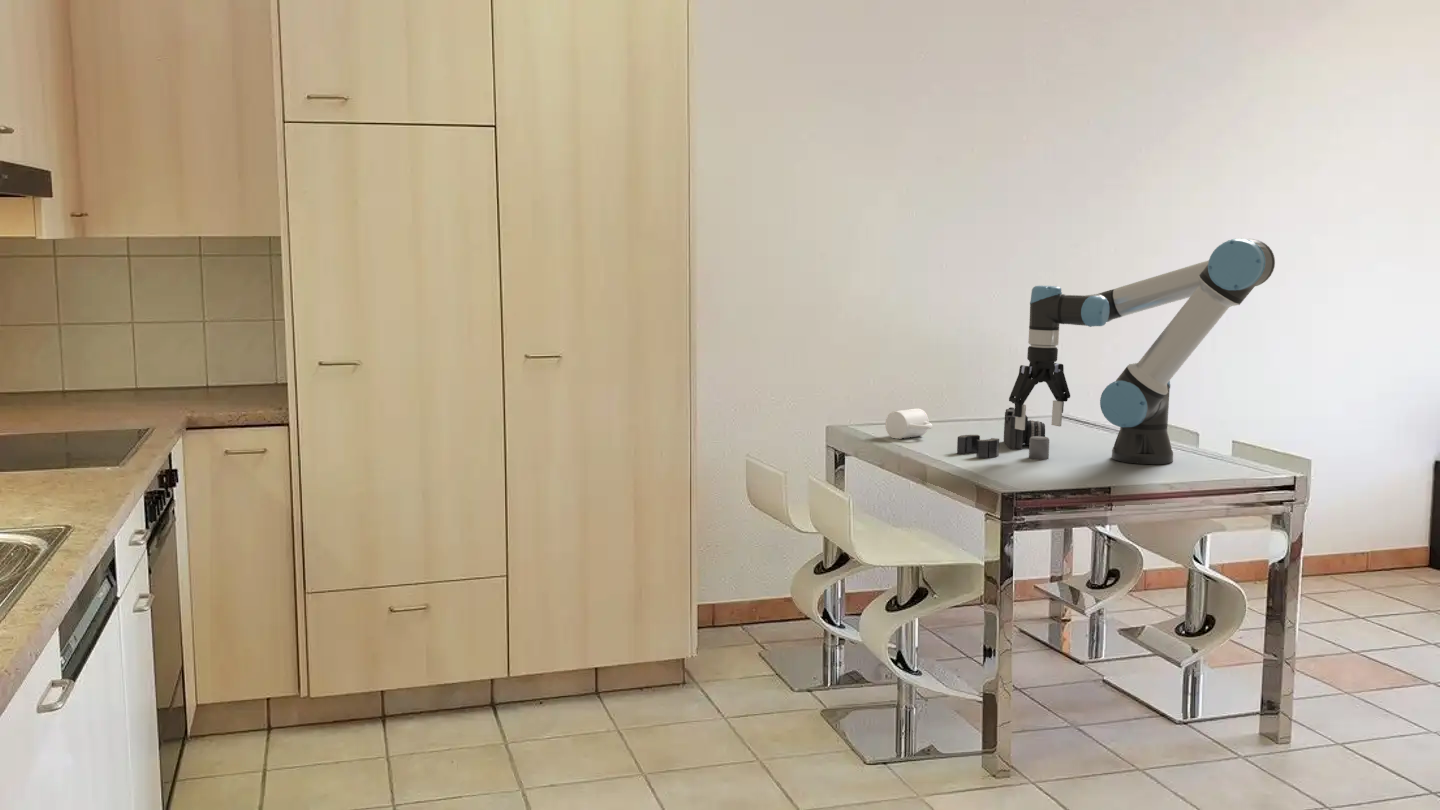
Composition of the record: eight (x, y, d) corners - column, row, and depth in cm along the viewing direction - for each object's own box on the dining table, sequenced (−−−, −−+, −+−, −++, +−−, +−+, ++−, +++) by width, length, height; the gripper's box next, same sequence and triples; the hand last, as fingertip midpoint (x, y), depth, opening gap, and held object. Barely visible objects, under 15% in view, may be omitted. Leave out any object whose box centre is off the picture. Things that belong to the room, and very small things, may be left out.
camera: (1048, 450, 357) (1050, 414, 356) (1008, 450, 358) (1009, 413, 356) (1039, 442, 371) (1040, 406, 370) (999, 441, 372) (1001, 406, 371)
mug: (884, 437, 377) (885, 409, 376) (907, 434, 384) (908, 406, 383) (917, 442, 368) (918, 414, 367) (940, 439, 375) (941, 411, 374)
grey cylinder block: (1052, 458, 344) (1053, 438, 343) (1039, 460, 341) (1040, 439, 341) (1038, 456, 348) (1039, 435, 347) (1024, 457, 345) (1025, 437, 345)
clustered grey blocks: (1002, 456, 347) (1003, 439, 346) (981, 458, 343) (982, 441, 342) (972, 450, 356) (973, 433, 355) (952, 452, 352) (952, 436, 351)
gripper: (1065, 342, 351) (1060, 422, 354) (997, 346, 337) (993, 428, 340) (1087, 345, 345) (1082, 426, 348) (1019, 349, 331) (1014, 433, 334)
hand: (1038, 427), depth 344 cm, fingers open, 13 cm apart
